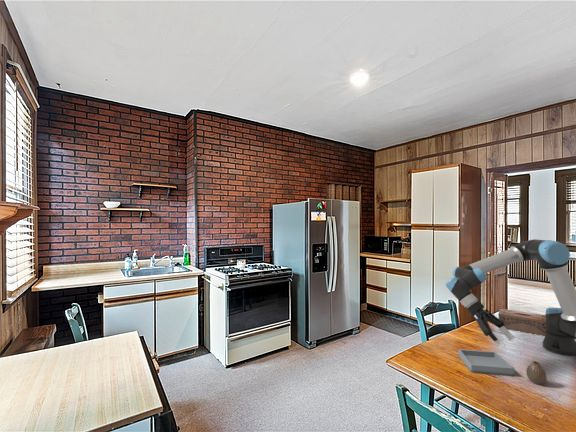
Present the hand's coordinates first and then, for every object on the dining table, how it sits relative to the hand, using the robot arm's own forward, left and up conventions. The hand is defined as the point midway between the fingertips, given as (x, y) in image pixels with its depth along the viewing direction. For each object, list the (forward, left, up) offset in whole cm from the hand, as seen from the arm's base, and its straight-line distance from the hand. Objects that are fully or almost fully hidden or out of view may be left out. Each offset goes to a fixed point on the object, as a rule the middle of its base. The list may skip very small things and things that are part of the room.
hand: (507, 343), depth 141 cm
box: (+8, -6, -14) cm, 18 cm away
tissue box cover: (-39, -65, -15) cm, 78 cm away
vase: (-8, +7, -14) cm, 18 cm away
